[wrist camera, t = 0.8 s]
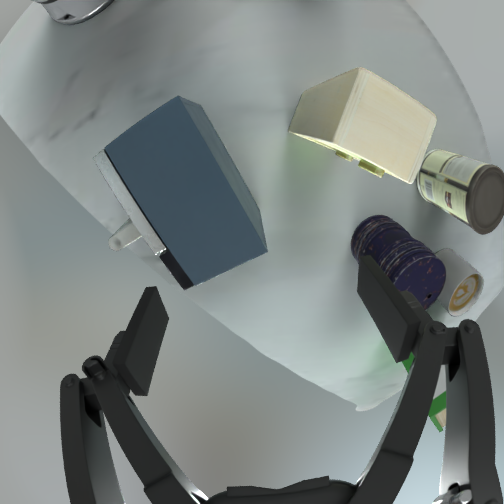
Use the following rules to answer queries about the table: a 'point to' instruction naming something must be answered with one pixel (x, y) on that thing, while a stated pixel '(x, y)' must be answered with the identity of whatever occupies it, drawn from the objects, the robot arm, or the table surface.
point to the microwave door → (127, 210)
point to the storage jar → (400, 258)
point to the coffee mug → (459, 283)
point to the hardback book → (435, 397)
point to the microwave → (189, 192)
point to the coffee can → (463, 188)
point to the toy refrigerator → (366, 123)
